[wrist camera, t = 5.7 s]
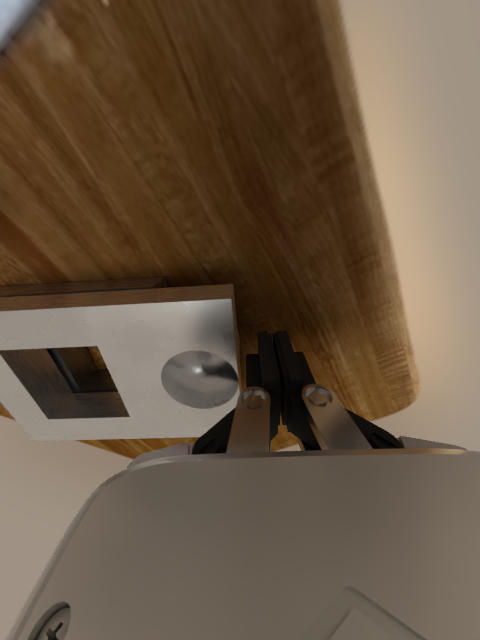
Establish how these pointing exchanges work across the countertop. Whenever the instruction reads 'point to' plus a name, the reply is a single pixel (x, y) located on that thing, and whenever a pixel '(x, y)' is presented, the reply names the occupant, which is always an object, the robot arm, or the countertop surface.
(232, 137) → the countertop surface
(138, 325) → the plate with square hole
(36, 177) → the countertop surface
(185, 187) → the countertop surface
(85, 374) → the plate
